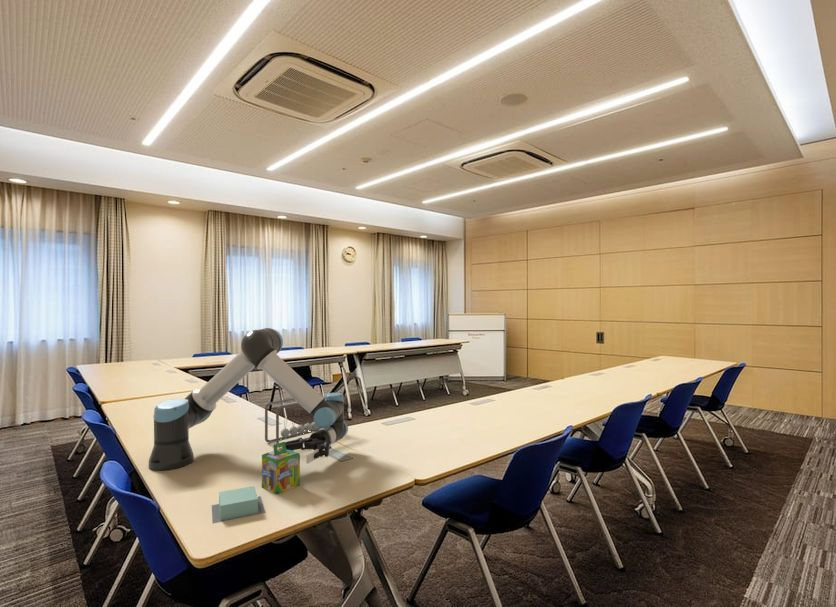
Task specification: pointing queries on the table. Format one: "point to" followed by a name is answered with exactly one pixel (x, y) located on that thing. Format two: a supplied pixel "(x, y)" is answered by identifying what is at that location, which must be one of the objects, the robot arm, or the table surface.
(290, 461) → the chalk box
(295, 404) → the newton's cradle
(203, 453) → the table surface
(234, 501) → the pedestal
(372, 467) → the table surface
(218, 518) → the mat
